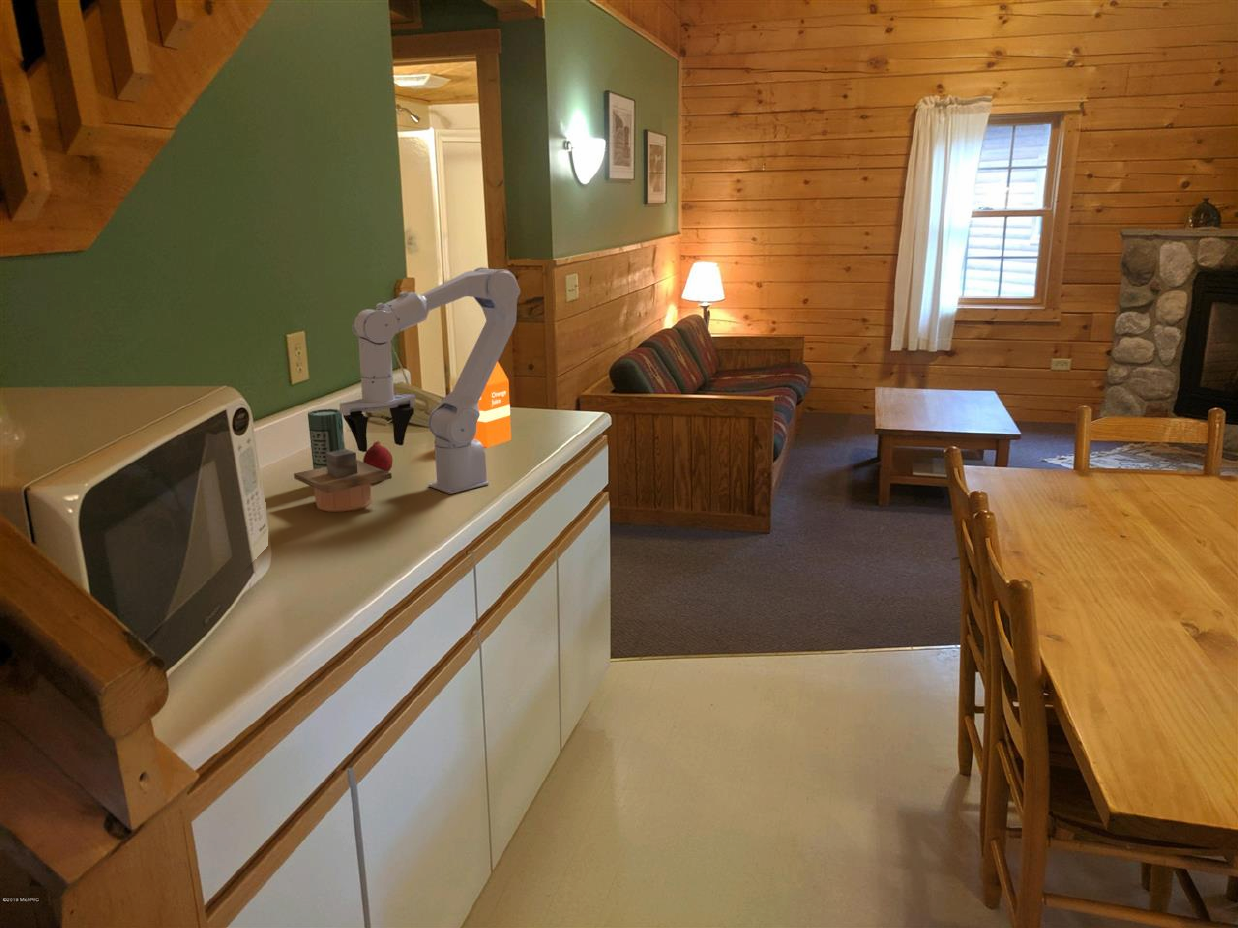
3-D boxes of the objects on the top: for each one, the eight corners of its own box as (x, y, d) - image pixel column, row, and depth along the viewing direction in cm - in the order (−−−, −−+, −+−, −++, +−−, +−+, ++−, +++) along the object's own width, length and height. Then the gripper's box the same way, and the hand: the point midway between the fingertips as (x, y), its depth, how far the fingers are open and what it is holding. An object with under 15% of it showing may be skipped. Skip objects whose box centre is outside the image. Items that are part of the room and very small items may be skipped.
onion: (386, 483, 187) (383, 445, 184) (359, 482, 188) (356, 444, 186) (398, 475, 192) (395, 438, 190) (372, 474, 193) (369, 437, 191)
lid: (357, 465, 182) (355, 440, 180) (391, 478, 172) (389, 452, 171) (294, 478, 173) (291, 452, 172) (326, 493, 164) (323, 466, 162)
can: (353, 481, 188) (346, 409, 184) (336, 490, 182) (329, 416, 178) (327, 479, 190) (319, 408, 186) (309, 488, 184) (302, 414, 180)
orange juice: (511, 439, 221) (508, 356, 215) (487, 447, 214) (483, 362, 208) (486, 435, 225) (482, 353, 219) (462, 443, 218) (457, 359, 212)
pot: (355, 492, 181) (353, 467, 180) (381, 503, 174) (379, 477, 173) (307, 503, 175) (304, 478, 173) (332, 515, 168) (329, 489, 166)
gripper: (400, 369, 177) (403, 437, 181) (329, 377, 167) (335, 449, 171) (419, 373, 172) (423, 444, 176) (348, 382, 163) (353, 457, 166)
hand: (381, 447), depth 173 cm, fingers open, 7 cm apart
